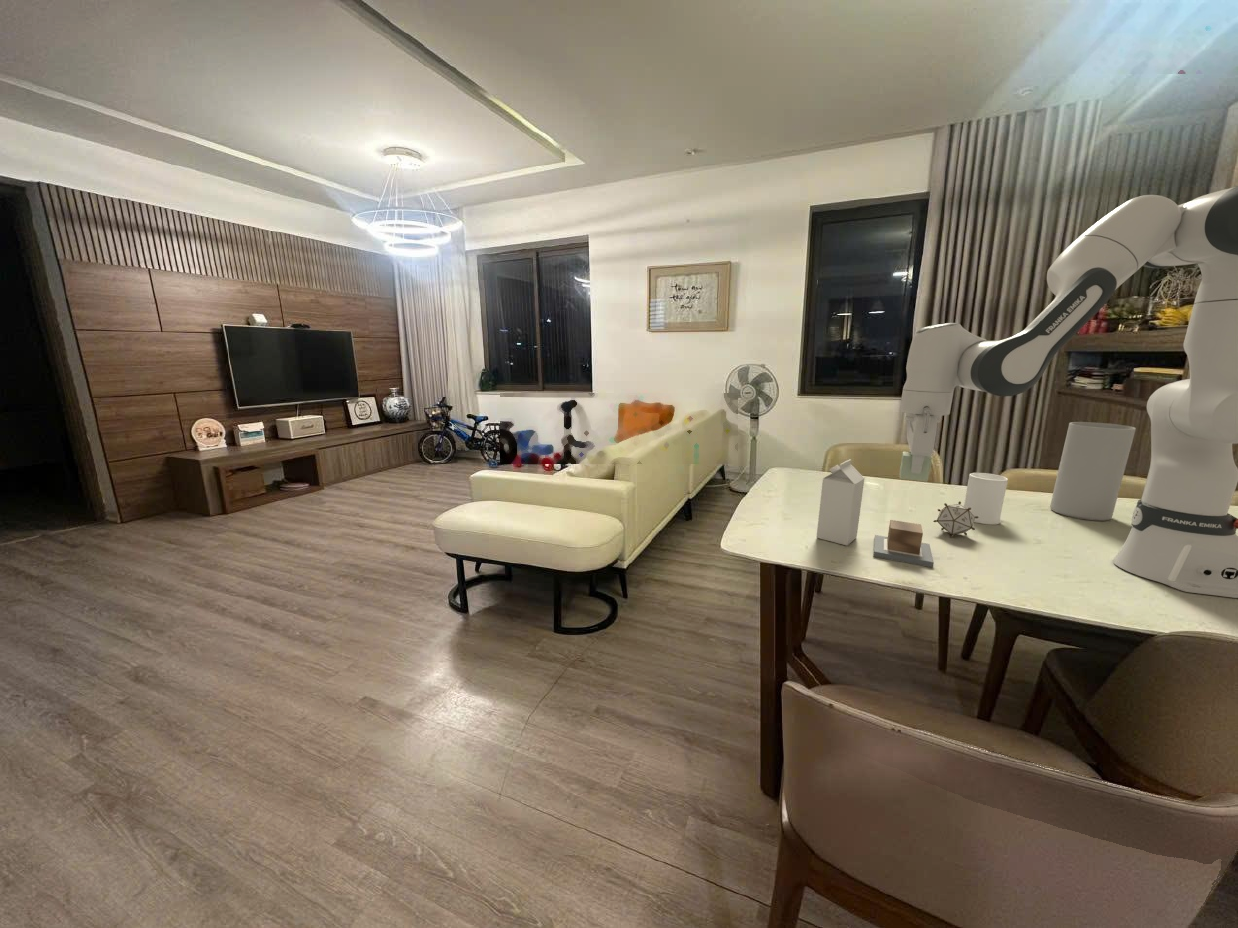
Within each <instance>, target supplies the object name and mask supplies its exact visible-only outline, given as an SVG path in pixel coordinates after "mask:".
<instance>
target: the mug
mask: <svg viewBox="0 0 1238 928" xmlns="http://www.w3.org/2000/svg"><path fill="white" fill-rule="evenodd" d="M1008 481H1009V479H1008V478H1007V477H1005V476H1003V475H999V474H994V473H989V472H987V473H986V472H972V473H969V476H968V480H967V486H966V490H965V491H966V492H965V496H964V503H963V506H964V507H965V508H967V509H968V508H971V510H969V511H970V512H971V513H972V514H973V516H974V517H976V516H978V518H977V519H976V518H975V519H974V523H976V524H981V525H991V526H992V525H994V526H995V525H998V524H999V525H1000V523H1001V515H1002V510H1003V505H1004V501H1005V496H1006V491H1007V486H1008Z"/></svg>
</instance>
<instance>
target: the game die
mask: <svg viewBox="0 0 1238 928" xmlns="http://www.w3.org/2000/svg"><path fill="white" fill-rule="evenodd" d="M943 505H944V507H943V508H942V509H939V508H938V509H937V512H939V514H938V516H937V519H936V520H935V519H934V520H933V521H932V522H934V523H938V524H939V526H941V528H940V529H941V530H940V531H946V532H947V533H948V534H950V538H953V537H954V536H955V535H960V534H964V536H967V535H968V533H967V532H969V531H970V530H972V531H976V528H975V527H973V526H974V523H975V522H974V519H975V518H976V519H977V518H978V516H976V517H974V516H973V514H972V513H971V512H970V511H969V510H971V508H968V509H967V508H965V507H964V505H962V502H961V500H960V501H958V504H957V503H956V504H949V505H948V504H947V503H946V502H944V504H943Z"/></svg>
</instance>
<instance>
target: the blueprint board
mask: <svg viewBox="0 0 1238 928" xmlns="http://www.w3.org/2000/svg"><path fill="white" fill-rule="evenodd" d="M887 539H888V536H884V535H878V534H874V539H873V555H872V556H873V557H874V558H879V559H885V560H891V561H896V562H900V563H906V564H910V565H911V564H912V565H915V566H922V567H928V568H934V563H935V562H934V558H933V557H934V556H933V555H932V554H933V553H932V550H931V545H930V543H925V542H921V548H920V554H919V555H917V554H911V553H905V552H900V551H894V550H889V549H887Z"/></svg>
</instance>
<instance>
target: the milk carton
mask: <svg viewBox="0 0 1238 928" xmlns="http://www.w3.org/2000/svg"><path fill="white" fill-rule="evenodd" d="M851 463H852V459H847V460H846V461H844V462H841V463H840V464H836V465H834V466H832V467H830V468H829V471H830V472H831V473H830V474H828V475H826V476H825V477H823V478H822V482H821V483H822V485H821V493H820V494H821V495H820V503H819V510H818V511H819V512H818V521H817V529H816V538H817V539H820V540H824V541H827V542H832V543H834V544H840V545H844V546H849V545H850V544H851V543H853V541H854V540H855V539H857V538H858V530H859V521H860V515H861V506H862V502H863V501H862V499H863V490H864V485H865V477H864V476H863V475H862V474H861V473H860V472H859V471H858V470H857V469H856V467H854V465H852V464H851Z"/></svg>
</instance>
